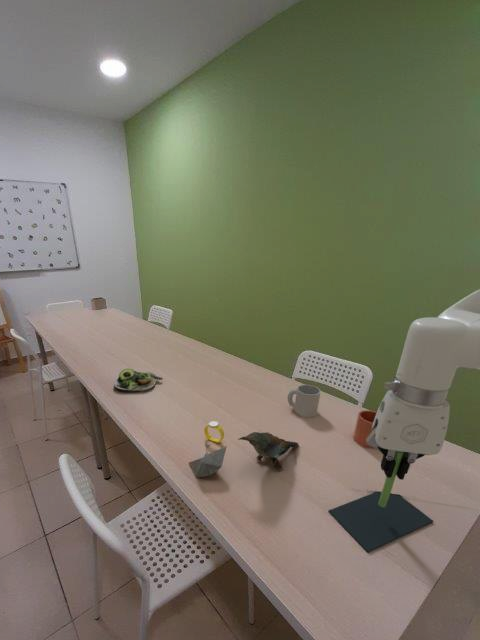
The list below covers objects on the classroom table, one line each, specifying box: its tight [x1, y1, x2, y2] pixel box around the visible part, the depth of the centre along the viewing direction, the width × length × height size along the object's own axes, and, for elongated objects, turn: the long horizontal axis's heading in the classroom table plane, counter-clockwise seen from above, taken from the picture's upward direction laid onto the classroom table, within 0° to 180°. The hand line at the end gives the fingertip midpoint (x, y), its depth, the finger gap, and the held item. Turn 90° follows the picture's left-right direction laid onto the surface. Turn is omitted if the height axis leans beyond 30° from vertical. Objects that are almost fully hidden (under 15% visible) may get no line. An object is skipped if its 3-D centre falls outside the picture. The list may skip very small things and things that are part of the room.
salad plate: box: [113, 368, 164, 393], centre depth 125 cm, size 19×18×5 cm
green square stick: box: [378, 451, 404, 508], centre depth 59 cm, size 1×1×14 cm
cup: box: [287, 384, 321, 418], centre depth 100 cm, size 7×10×9 cm
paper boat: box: [188, 444, 228, 478], centre depth 77 cm, size 12×6×9 cm
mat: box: [328, 490, 434, 554], centre depth 63 cm, size 18×10×1 cm, turn 110°
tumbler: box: [352, 409, 377, 449], centre depth 85 cm, size 7×7×8 cm
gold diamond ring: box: [203, 420, 225, 444], centre depth 88 cm, size 6×3×6 cm, turn 57°
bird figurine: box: [237, 431, 300, 472], centre depth 78 cm, size 13×10×20 cm
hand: (392, 473), depth 59 cm, fingers closed on green square stick, 1 cm apart
